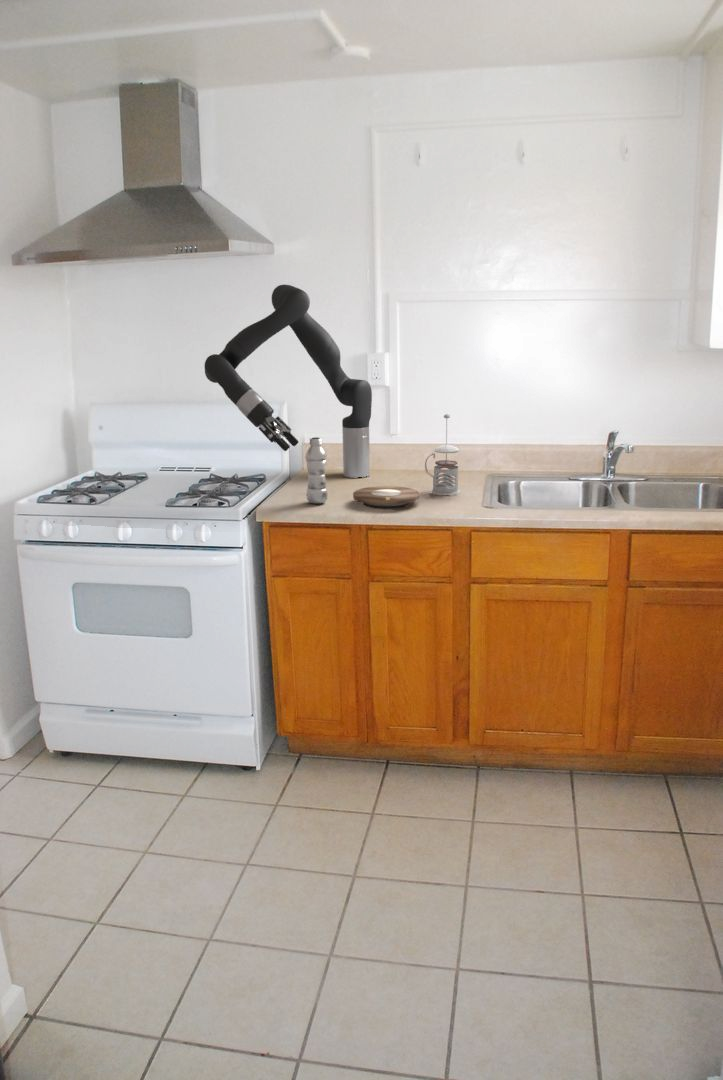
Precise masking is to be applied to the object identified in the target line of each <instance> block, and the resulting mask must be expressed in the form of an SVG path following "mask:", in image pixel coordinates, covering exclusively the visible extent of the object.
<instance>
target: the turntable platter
mask: <svg viewBox="0 0 723 1080" xmlns="http://www.w3.org/2000/svg"><path fill="white" fill-rule="evenodd" d="M352 495H353V497H352V498H353V500H355V501H356V502H358V503H362V504H363V503H367V504H375V505H396V504H405V503H409V504H410V503H413V502H415V501H418V500H419V499H420V492H419V491H418V490H416V489H414V488H410V487H405V486H395V485H378V486H376V485H375V486H367V487H362V488H360V489H357V490H356V489H355V491H354V492H353V494H352Z"/></svg>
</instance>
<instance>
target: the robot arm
mask: <svg viewBox="0 0 723 1080" xmlns="http://www.w3.org/2000/svg"><path fill="white" fill-rule="evenodd" d="M271 304H272V306H273V309H274V311H273V312H271V314H269V315H267V316H265V317H263V319H260V320H258V321H256V322H254V323H252V324H250V325H248V326H246V327H244V328H243V329H241V331H239V332H238V333H237V334H236V335H235V336H233V337H232V338H230V340H229V341H227V343H226V344H225V347H224V348H223V350H222V351H220V353H219V354H217V353H216V354H215V353H214V354H211V355H209V356H207V358H206V359H205V361H204V375H205V377H206V379H207V380H208V381H209V382H211V383H214V384H218V385H219V386H220V387H221V388H222V390H223V392H224V393H225V395H226V397H227V398H228V399H229V400H230V401H231V402H232V403H233V404H234V405H235V406H236V407H237V408H238V410H239V411H240V413H242V415H244V416H245V418H246V419H247V420H248V421H249V422H250V423H251V424H252V425H253V426H254V427H255V428H258V430H259V431H260V432H261V433H262V434H263V435H264V436H265V437H266V438H267V440H269V442H271V443H274V444H277V445H278V446H279V447H280V449H282V450H283V451H284V452H287V451H288V449H290V448H291V446H292V447H296V446H297V445H298V444H299V440H298V439H297V438H296V437H295V435H293V433H292V428H291V427H290V426H289V425H288V424H287V423H286V421H284V420H283V419H281V417H280V416H278V415H277V416H276V417H274V416H273V414H274V411H275V409H273V407H271V405H269V403H268V402H267V401H266V400H265V399H264V398H263V397H262V395H260V394H259V393H258V392H256V391H255V390H254V389H253V388H252V387H251V386H250V385H249V384H248V383H247V382H246V381H245V380H244V379H243V378H242V377H241V376H240V374H239V373H238V372H237V370H236V369H237V368H238V367H239V365H240V364H241V363H242V362H243V361H244V360H246V359H247V358H248V357H249V356H251V354H253V353H254V352H255V351H256V350H258V348H260V346H261V345H262V344H264V343H265V342H267V341H268V340H269V339H271V338H272V337H273V336H275V335H276V334H278V333H279V332H281V331H283V330H284V329H285V328H286V327H290V328H291V330H292V331H293V333H294V334H295V336H296V338H297V339H298V341H299V343H300V344H301V345H302V347H303V348H304V349H305V350H306V352H307V354H308V356H309V357H310V358H311V360H312V361H313V363H314V364H315V365H316V366H317V367H318V369H319V370H320V372H321V373H322V375H323V377H324V378H325V379H326V380H327V382H328V384H329V386H330V387H331V390H332V391H333V393H334V395H335V398H336V399H337V401H339V403H340V404H342V405H344V406H346V407H352V409H351V414H349V415H348V416H345V417H343V418H342V421H341V422H342V423H341V424H342V425H341V427H342V471H343V474H342V475H343V477H345V478H350V479H351V478H352V479H353V478H354V479H358V477H362V478H367V477H369V476H370V475H371V474H370V473H371V472H370V470H371V468H370V467H371V466H370V421H371V417H372V404H373V403H372V402H373V400H372V399H373V398H372V397H373V392H372V386H371V385H370V383H369V382H368V381H367V380H365V379H356V378H350V377H349V376H348V375H347V373H345V371H344V370H343V368H342V365H341V351H340V347H339V346H338V345H337V343H336V341H335V340H334V339H333V337H332V336H331V335H330V333H329V331H327V330H326V329H325V328H324V327H323V326H322V325H321V324H320V323H318V321H316V319H314V318H313V317H312V316H311V315H310V314H309V312H308V311H309V309H310V304H311V300H310V297H309V295H308V293H307V292H306V291H304V290H303V289H301V288H299V287H296V286H293V285H290V284H279V285H277V286H275V288H274V289H273V291H272V292H271ZM284 438H285V439H284ZM366 476H367V477H366Z"/></svg>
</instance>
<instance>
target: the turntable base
mask: <svg viewBox="0 0 723 1080" xmlns="http://www.w3.org/2000/svg"><path fill="white" fill-rule="evenodd" d="M362 504H363V506H365V507H367V508H371V509H377V510H392V509H394V510H395V508H396V509H401V508H405V507H407V505H408V506H409V505H410V503H405V504H396V505H375V504H367V503H362Z"/></svg>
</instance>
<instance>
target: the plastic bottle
mask: <svg viewBox="0 0 723 1080" xmlns="http://www.w3.org/2000/svg"><path fill="white" fill-rule="evenodd" d="M308 444H309V448H308V449H307V451H306V453H305V460H306V461H305V463H306V469H307V489H306V500H307V502H308V503H309V504H316V505H318V504H323V503H326V501H327V500H328V489H327V481H326V465H327V452H326V451H325V449H324V448H323V447H322V445H323V442H322V437H315V436H314V437H310V438H309V443H308Z"/></svg>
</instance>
